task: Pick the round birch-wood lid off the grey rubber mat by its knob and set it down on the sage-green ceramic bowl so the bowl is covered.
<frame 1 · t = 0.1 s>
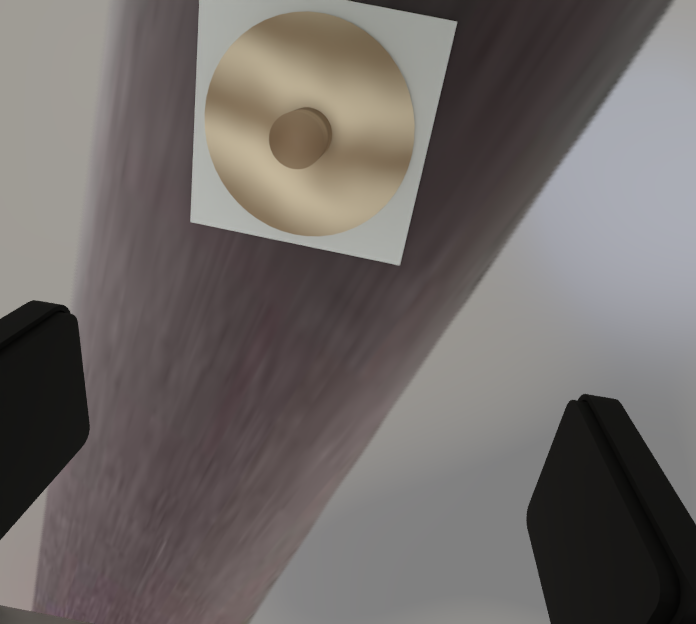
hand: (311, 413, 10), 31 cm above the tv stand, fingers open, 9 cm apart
lid: (309, 132, 37), resting on mat
mat: (310, 131, 38), on the tv stand
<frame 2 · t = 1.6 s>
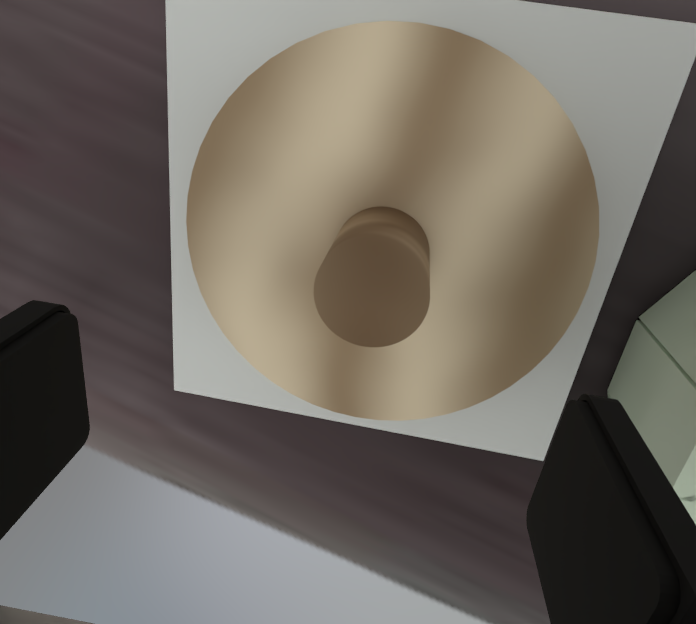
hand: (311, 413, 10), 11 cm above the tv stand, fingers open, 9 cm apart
lid: (383, 246, 20), resting on mat
mat: (384, 243, 20), on the tv stand
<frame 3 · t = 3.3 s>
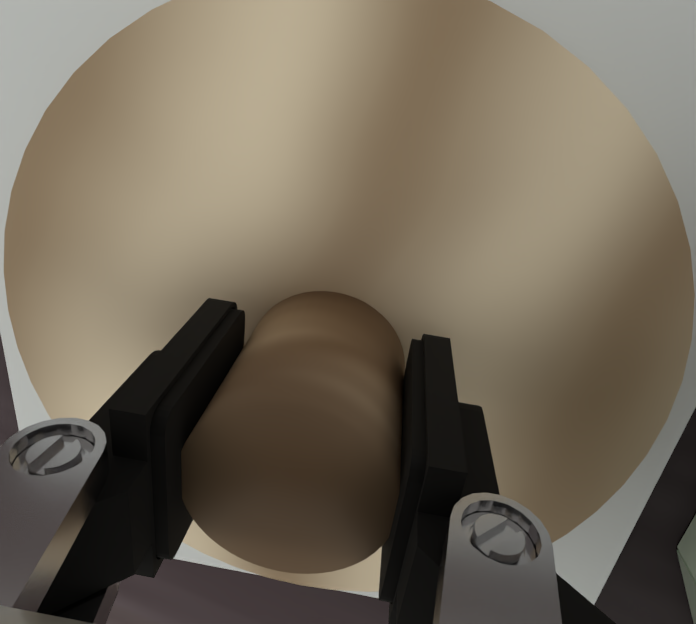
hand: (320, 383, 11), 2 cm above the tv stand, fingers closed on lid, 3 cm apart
lid: (331, 345, 12), resting on mat, touching gripper
mat: (333, 338, 13), on the tv stand
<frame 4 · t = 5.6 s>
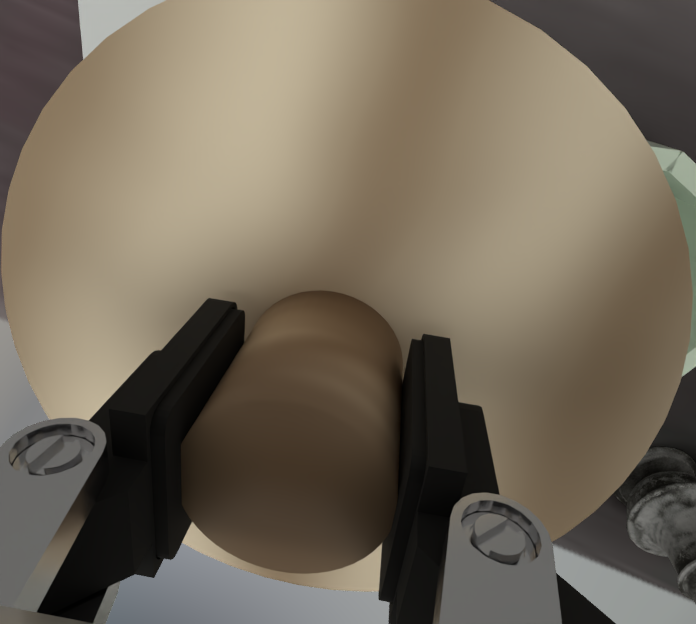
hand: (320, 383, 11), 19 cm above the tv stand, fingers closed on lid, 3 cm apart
lid: (329, 345, 12), point 17 cm above the tv stand, touching gripper
mat: (250, 150, 27), on the tv stand
bowl: (548, 251, 28), on the tv stand
salt shaker: (652, 476, 34), on the tv stand
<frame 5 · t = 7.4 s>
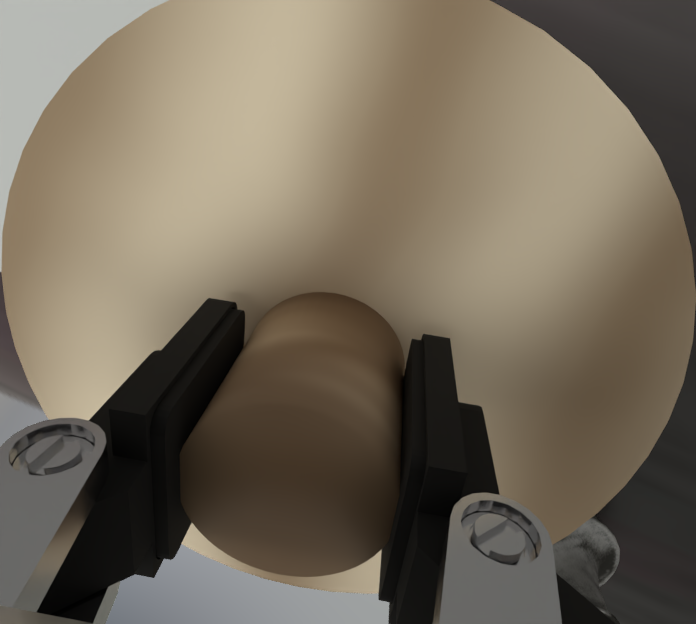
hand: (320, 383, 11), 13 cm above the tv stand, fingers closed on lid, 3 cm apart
lid: (331, 347, 12), point 12 cm above the tv stand, touching gripper
mat: (14, 93, 22), on the tv stand
salt shaker: (538, 499, 28), on the tv stand
when the fingers open (9 cm above the tv stand, at t = 8.4 s): lid drops 2 cm, resting on bowl.
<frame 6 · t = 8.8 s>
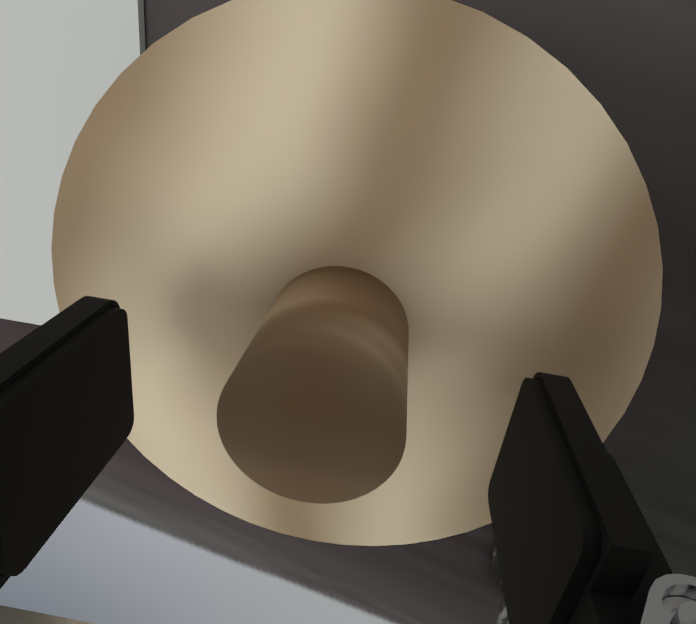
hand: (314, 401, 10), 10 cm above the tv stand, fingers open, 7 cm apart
lid: (342, 317, 14), point 6 cm above the tv stand, touching bowl
salt shaker: (547, 557, 25), on the tv stand
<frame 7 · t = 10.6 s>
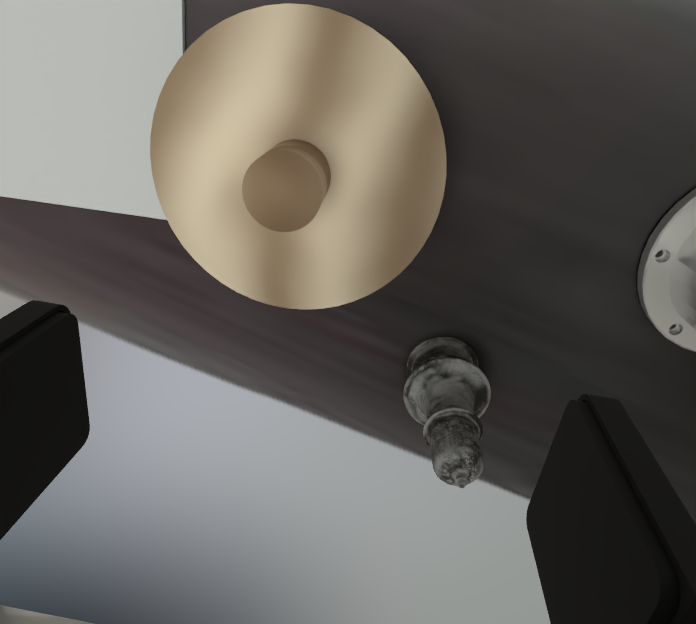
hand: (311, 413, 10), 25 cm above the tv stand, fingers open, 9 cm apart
lid: (298, 172, 27), point 6 cm above the tv stand, touching bowl
mat: (45, 64, 31), on the tv stand
salt shaker: (441, 366, 39), on the tv stand
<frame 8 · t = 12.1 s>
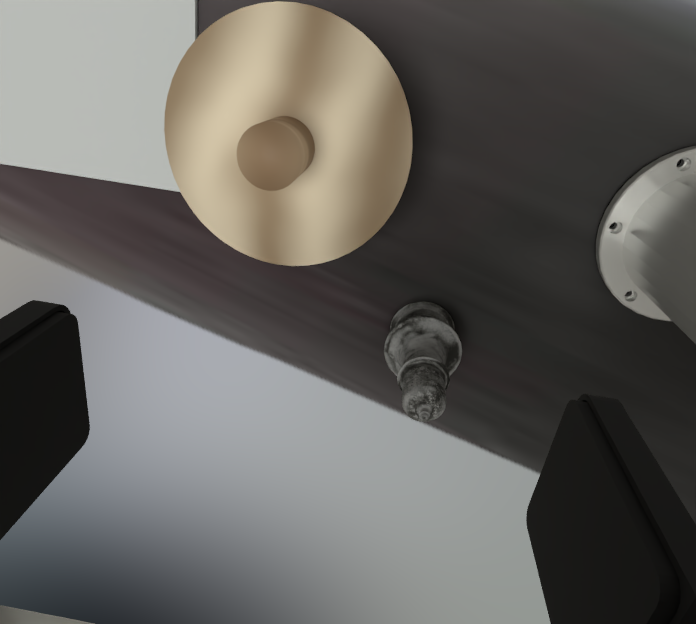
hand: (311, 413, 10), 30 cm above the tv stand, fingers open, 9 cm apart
lid: (288, 145, 32), point 6 cm above the tv stand, touching bowl
mat: (80, 55, 37), on the tv stand
salt shaker: (422, 329, 43), on the tv stand
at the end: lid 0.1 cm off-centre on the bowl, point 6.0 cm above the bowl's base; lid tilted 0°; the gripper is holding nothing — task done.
